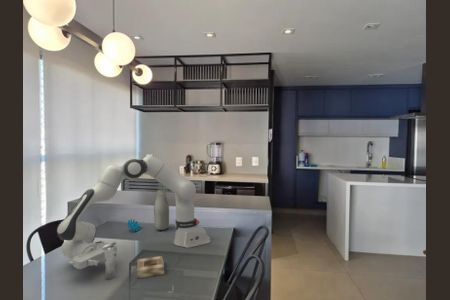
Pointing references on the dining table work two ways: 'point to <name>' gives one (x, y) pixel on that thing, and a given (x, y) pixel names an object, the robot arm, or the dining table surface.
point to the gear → (133, 225)
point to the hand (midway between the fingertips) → (107, 258)
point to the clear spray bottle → (109, 261)
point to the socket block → (150, 267)
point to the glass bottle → (161, 211)
